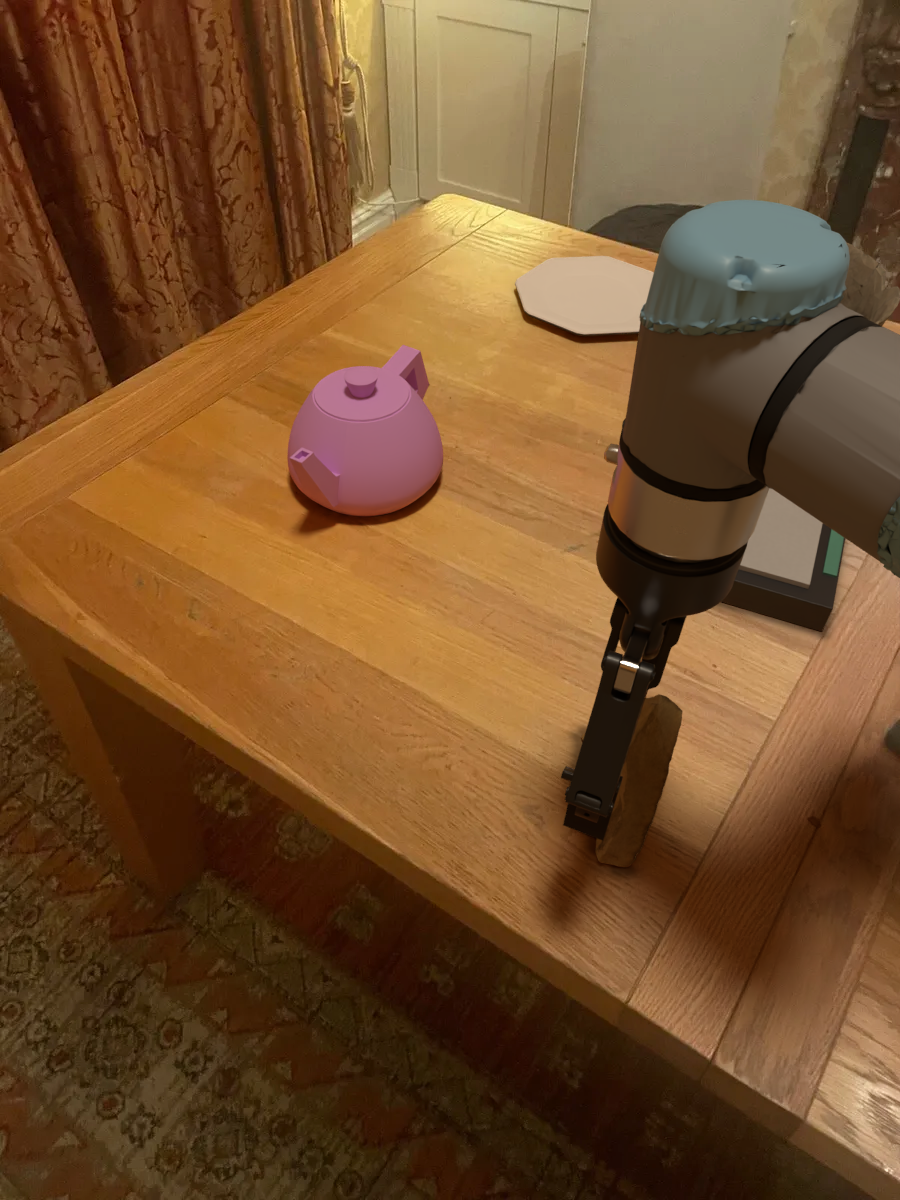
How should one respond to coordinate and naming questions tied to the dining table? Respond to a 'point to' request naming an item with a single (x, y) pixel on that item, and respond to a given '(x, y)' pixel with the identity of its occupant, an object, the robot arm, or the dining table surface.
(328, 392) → the teapot
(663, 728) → the rock
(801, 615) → the scale
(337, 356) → the dining table surface
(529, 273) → the plate
